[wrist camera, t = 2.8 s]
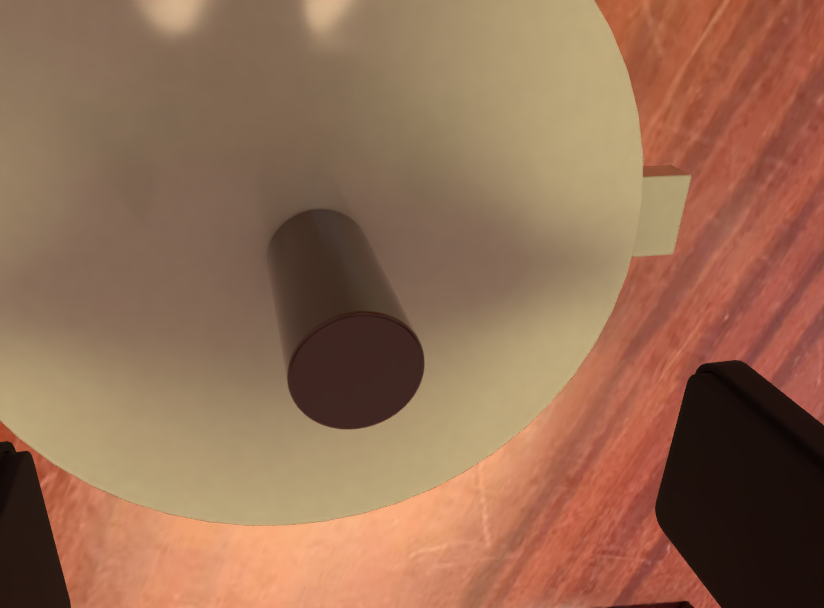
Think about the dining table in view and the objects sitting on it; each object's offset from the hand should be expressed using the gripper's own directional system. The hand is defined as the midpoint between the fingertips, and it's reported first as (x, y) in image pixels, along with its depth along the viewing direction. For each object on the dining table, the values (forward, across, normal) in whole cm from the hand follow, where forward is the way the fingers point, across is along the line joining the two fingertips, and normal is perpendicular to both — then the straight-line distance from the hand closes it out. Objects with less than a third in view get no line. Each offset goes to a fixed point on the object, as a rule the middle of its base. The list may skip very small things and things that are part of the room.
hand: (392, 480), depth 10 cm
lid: (+8, 0, 0) cm, 8 cm away
